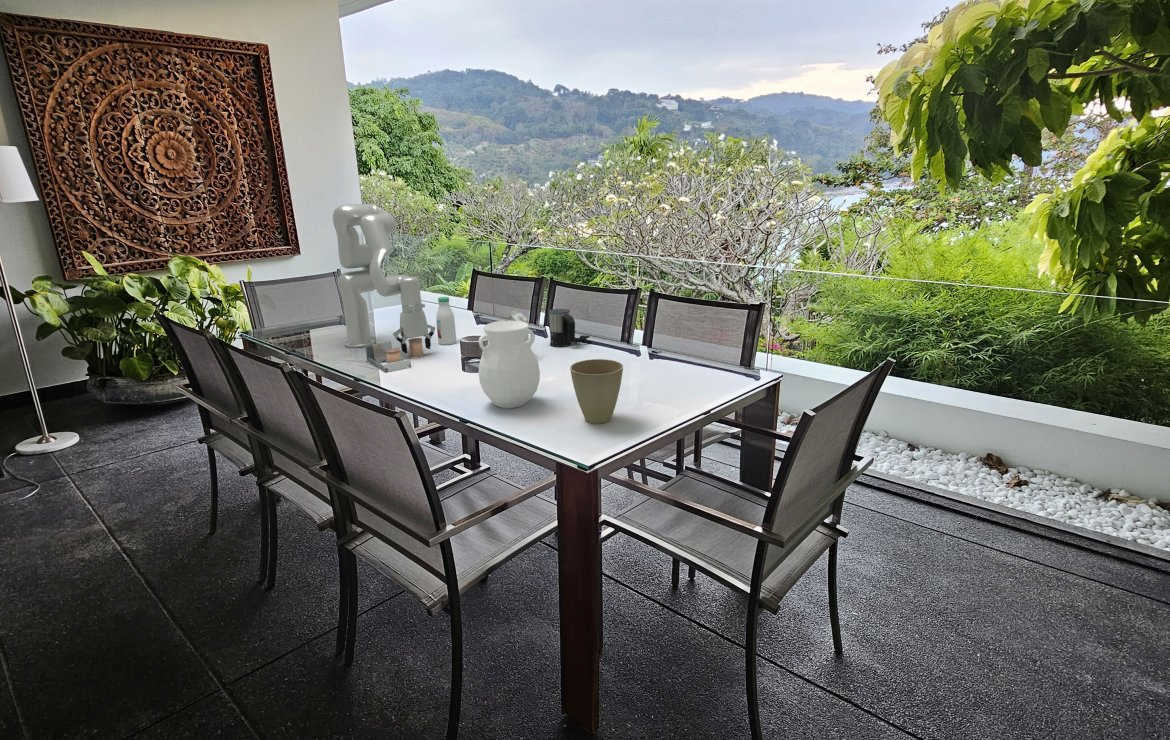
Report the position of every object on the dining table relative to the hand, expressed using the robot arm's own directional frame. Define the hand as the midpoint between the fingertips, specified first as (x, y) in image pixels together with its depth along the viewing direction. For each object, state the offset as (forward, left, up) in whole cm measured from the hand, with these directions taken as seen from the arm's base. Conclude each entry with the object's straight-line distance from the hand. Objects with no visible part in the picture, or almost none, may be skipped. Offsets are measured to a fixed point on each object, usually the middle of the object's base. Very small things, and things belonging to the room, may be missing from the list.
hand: (416, 350), depth 247 cm
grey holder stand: (+4, -13, -2) cm, 14 cm away
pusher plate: (-5, -13, -2) cm, 14 cm away
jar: (0, 0, -2) cm, 2 cm away
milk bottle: (-12, +19, -3) cm, 23 cm away
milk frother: (+25, +58, -3) cm, 63 cm away
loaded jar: (+10, -13, -3) cm, 17 cm away
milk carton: (+30, +29, -3) cm, 42 cm away
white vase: (+74, 0, -3) cm, 74 cm away
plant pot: (+102, +12, -3) cm, 102 cm away
